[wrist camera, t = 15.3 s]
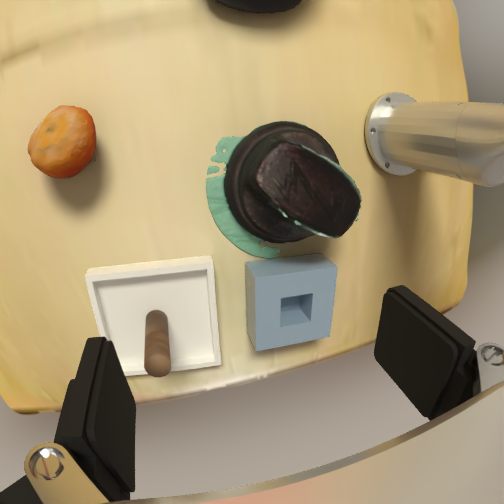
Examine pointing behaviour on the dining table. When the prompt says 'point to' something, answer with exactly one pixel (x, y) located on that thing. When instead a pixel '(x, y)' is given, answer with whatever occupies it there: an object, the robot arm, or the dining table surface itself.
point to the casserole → (260, 5)
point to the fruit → (63, 142)
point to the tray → (158, 298)
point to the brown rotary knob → (280, 188)
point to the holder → (289, 300)
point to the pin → (157, 344)
